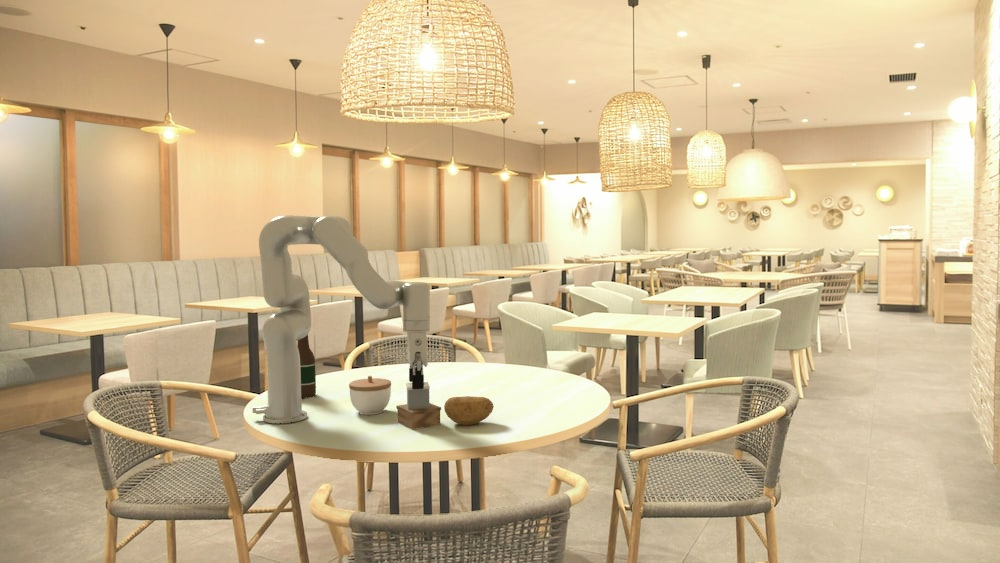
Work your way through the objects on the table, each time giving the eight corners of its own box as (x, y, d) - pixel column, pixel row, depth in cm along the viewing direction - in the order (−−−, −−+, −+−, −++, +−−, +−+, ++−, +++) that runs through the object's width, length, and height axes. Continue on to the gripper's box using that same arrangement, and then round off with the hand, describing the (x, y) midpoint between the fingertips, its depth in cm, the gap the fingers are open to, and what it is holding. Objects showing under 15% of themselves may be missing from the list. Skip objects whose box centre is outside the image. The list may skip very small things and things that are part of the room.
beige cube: (407, 409, 206) (407, 387, 206) (406, 404, 213) (406, 383, 212) (429, 408, 208) (429, 386, 207) (428, 403, 214) (427, 381, 213)
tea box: (411, 430, 204) (411, 412, 203) (396, 423, 211) (396, 405, 211) (441, 425, 209) (441, 407, 209) (425, 418, 217) (425, 401, 216)
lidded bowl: (400, 411, 224) (399, 375, 223) (365, 419, 215) (364, 382, 214) (375, 404, 233) (374, 370, 232) (341, 412, 224) (340, 376, 223)
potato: (496, 427, 205) (495, 399, 205) (445, 429, 203) (445, 401, 203) (491, 418, 215) (490, 391, 214) (443, 420, 213) (442, 393, 212)
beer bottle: (299, 393, 251) (297, 323, 249) (320, 393, 249) (318, 323, 248) (288, 398, 243) (286, 326, 242) (310, 399, 242) (308, 326, 240)
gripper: (433, 329, 200) (432, 391, 202) (426, 321, 217) (426, 378, 219) (405, 330, 199) (405, 392, 200) (400, 321, 216) (400, 379, 217)
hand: (416, 385), depth 210 cm, fingers open, 9 cm apart
